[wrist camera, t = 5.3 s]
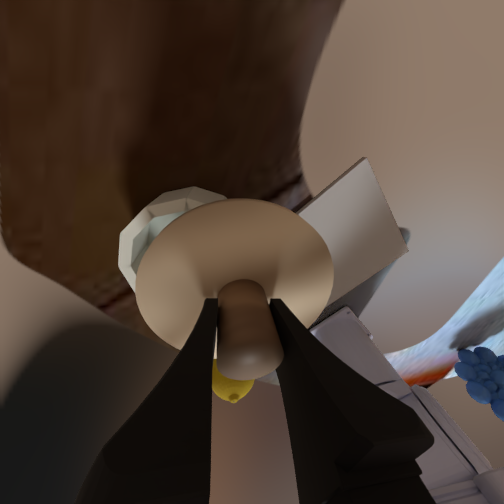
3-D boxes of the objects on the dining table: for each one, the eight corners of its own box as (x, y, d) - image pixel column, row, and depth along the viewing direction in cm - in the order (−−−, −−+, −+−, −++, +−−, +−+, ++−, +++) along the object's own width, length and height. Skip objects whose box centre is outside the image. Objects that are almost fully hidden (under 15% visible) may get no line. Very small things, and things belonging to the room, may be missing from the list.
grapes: (427, 370, 39) (503, 451, 29) (436, 350, 36) (525, 433, 25) (480, 355, 39) (575, 430, 29) (494, 334, 36) (606, 410, 26)
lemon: (211, 317, 24) (207, 387, 17) (254, 318, 25) (267, 384, 18) (207, 346, 26) (202, 418, 19) (246, 346, 27) (255, 414, 20)
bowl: (267, 241, 20) (279, 264, 16) (200, 297, 22) (196, 329, 18) (192, 161, 16) (183, 166, 12) (118, 240, 18) (89, 266, 14)
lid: (355, 286, 14) (413, 345, 10) (235, 367, 17) (240, 441, 12) (250, 142, 9) (278, 139, 5) (96, 295, 11) (23, 382, 7)
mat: (404, 248, 23) (408, 250, 23) (315, 309, 26) (317, 312, 25) (362, 157, 17) (366, 157, 17) (253, 247, 20) (254, 250, 20)
